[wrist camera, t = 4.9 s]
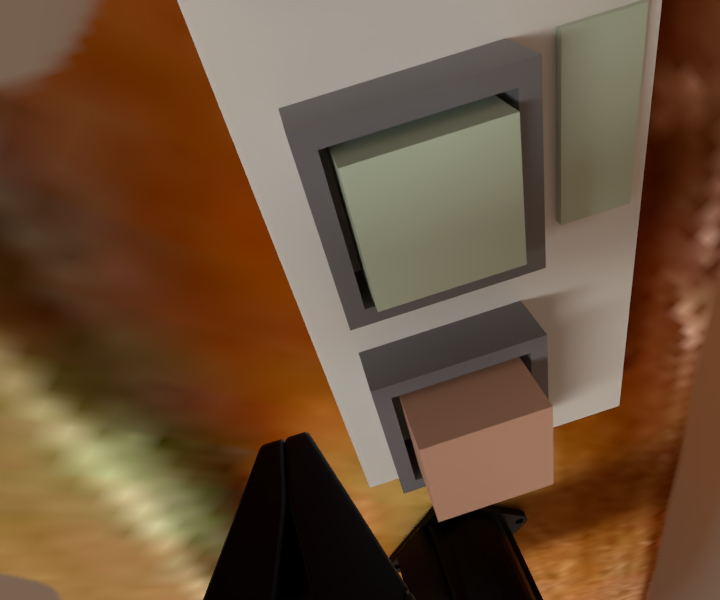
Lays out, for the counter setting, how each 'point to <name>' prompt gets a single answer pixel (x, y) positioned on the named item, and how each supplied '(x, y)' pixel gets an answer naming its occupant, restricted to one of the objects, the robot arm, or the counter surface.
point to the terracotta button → (481, 437)
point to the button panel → (420, 99)
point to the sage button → (435, 200)
